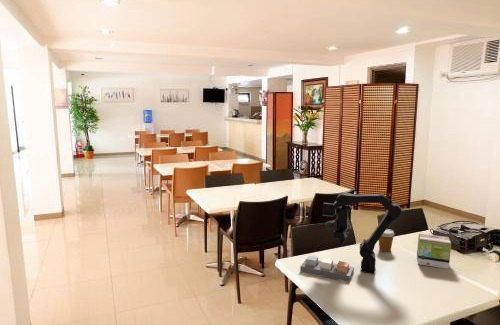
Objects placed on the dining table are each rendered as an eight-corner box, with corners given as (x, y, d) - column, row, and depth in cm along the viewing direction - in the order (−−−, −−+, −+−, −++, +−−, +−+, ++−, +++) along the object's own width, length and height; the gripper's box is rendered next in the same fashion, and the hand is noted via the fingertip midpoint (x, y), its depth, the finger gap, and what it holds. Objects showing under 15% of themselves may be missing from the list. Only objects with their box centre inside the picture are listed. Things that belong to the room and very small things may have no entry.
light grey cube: (317, 266, 185) (318, 257, 184) (315, 269, 181) (315, 260, 180) (308, 264, 187) (308, 255, 186) (305, 268, 183) (306, 258, 182)
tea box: (417, 265, 189) (419, 238, 186) (416, 257, 198) (418, 232, 196) (449, 269, 183) (451, 242, 181) (446, 262, 192) (448, 236, 190)
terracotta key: (348, 272, 178) (349, 262, 177) (346, 276, 174) (347, 266, 173) (338, 270, 180) (339, 261, 179) (336, 274, 176) (336, 264, 175)
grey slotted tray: (353, 272, 180) (353, 267, 179) (349, 282, 170) (349, 276, 170) (306, 263, 191) (306, 258, 190) (300, 271, 181) (300, 266, 181)
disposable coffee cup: (396, 253, 204) (397, 233, 202) (379, 253, 204) (380, 233, 202) (389, 247, 213) (391, 228, 211) (374, 247, 213) (375, 228, 212)
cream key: (332, 269, 181) (333, 259, 181) (330, 273, 177) (330, 263, 176) (323, 267, 184) (323, 258, 183) (320, 271, 179) (321, 261, 178)
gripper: (331, 210, 194) (330, 237, 197) (322, 219, 178) (321, 249, 180) (351, 213, 190) (350, 240, 192) (344, 222, 173) (343, 252, 175)
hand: (341, 245), depth 185 cm, fingers closed
